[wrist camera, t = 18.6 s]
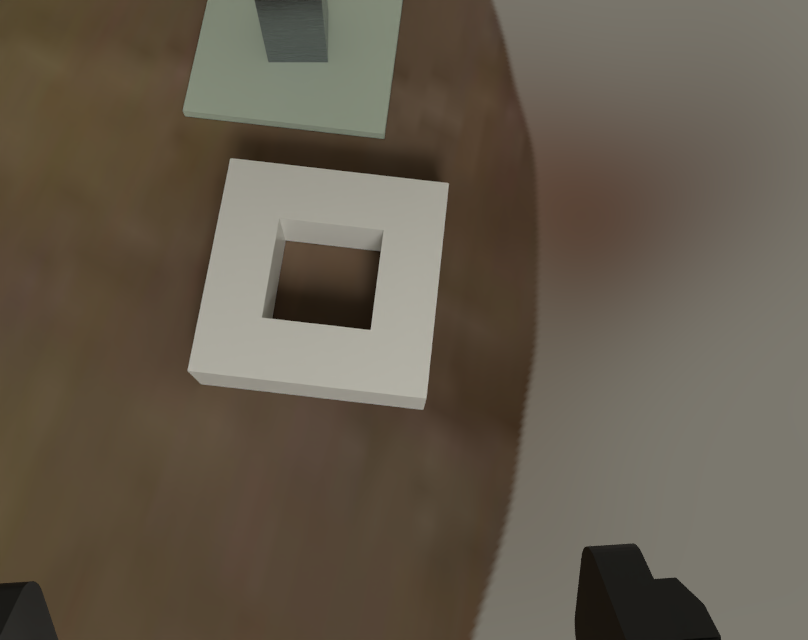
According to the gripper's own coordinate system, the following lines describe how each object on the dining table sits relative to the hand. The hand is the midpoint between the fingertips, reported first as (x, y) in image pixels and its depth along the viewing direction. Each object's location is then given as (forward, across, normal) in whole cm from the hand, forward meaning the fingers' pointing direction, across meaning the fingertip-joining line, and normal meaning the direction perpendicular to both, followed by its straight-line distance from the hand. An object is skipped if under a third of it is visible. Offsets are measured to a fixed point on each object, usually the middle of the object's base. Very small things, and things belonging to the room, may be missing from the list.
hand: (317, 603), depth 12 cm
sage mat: (+43, +2, -2) cm, 43 cm away
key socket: (+31, +1, +10) cm, 32 cm away
